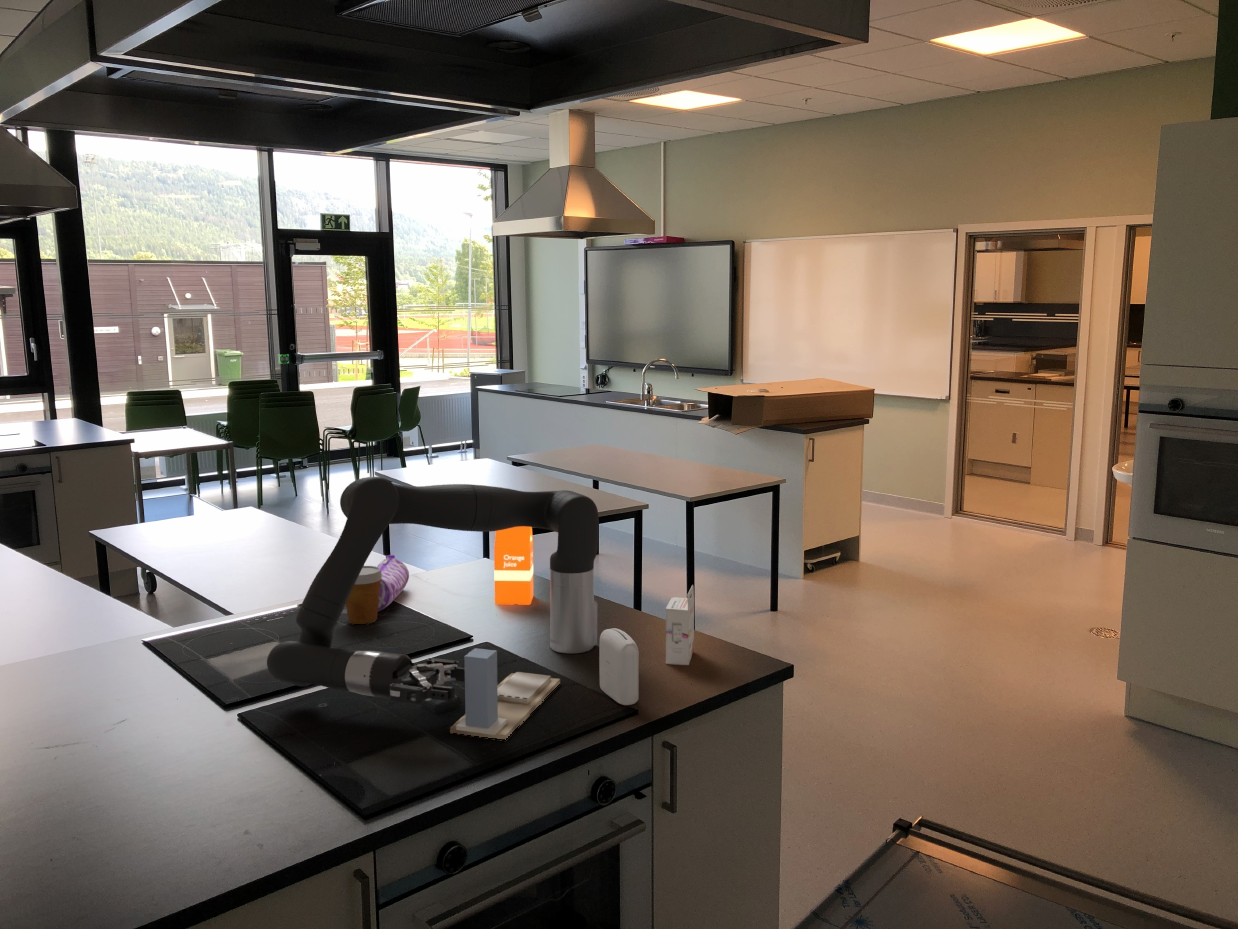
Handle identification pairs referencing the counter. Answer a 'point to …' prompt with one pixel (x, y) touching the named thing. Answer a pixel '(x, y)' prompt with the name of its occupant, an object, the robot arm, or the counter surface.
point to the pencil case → (391, 580)
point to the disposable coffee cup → (364, 596)
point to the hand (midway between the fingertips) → (465, 685)
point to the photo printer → (618, 666)
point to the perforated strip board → (517, 701)
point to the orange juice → (513, 566)
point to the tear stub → (481, 693)
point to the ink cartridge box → (680, 629)
